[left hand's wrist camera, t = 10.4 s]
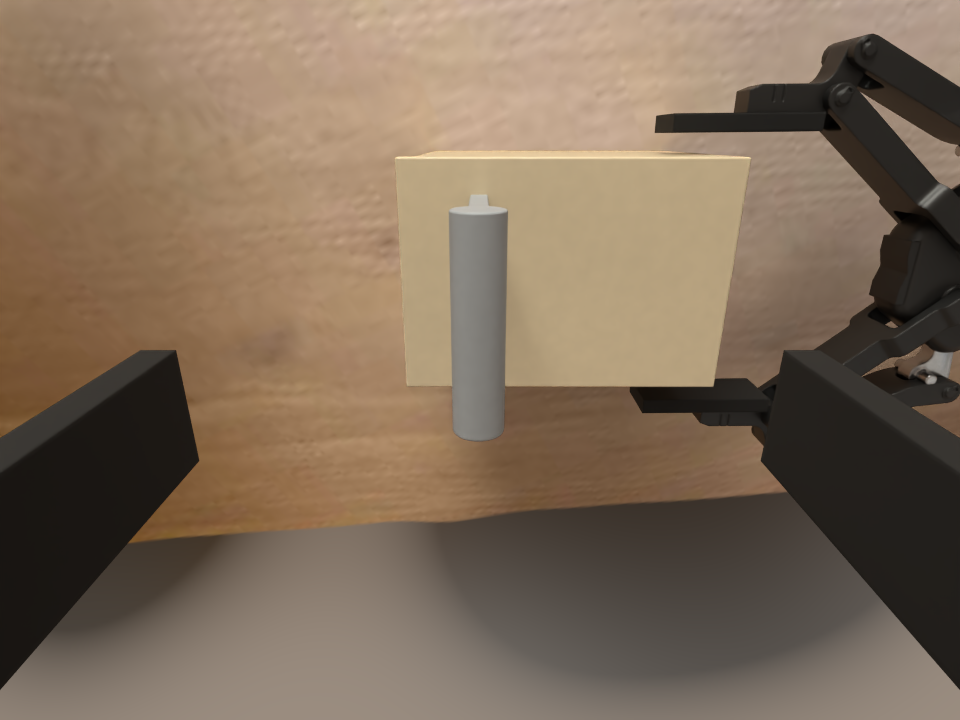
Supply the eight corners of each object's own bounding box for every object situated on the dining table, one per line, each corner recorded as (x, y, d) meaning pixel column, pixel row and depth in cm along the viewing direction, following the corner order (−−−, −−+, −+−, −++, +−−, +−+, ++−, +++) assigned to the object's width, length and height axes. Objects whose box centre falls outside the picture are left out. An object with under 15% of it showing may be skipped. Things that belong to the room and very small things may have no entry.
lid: (408, 379, 26) (380, 475, 19) (397, 156, 22) (356, 165, 15) (706, 379, 26) (796, 475, 19) (741, 156, 22) (870, 165, 15)
